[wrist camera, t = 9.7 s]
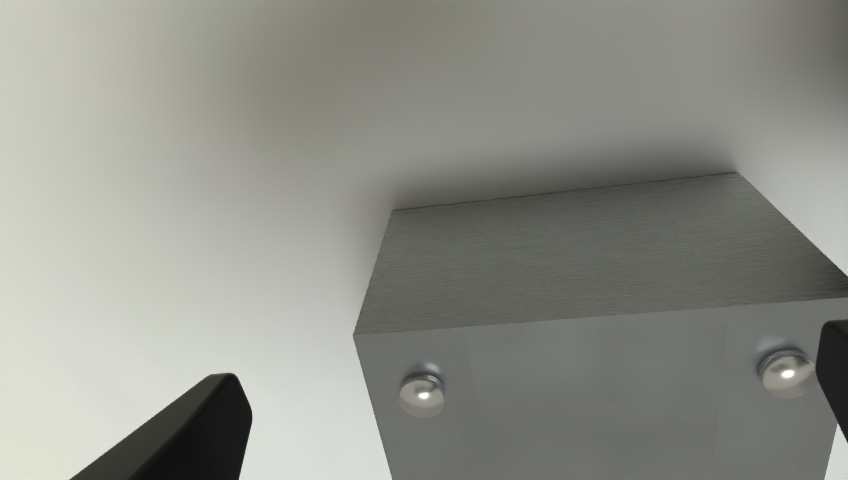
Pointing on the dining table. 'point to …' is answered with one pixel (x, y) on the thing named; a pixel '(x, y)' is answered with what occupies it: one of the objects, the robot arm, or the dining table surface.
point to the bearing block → (601, 337)
